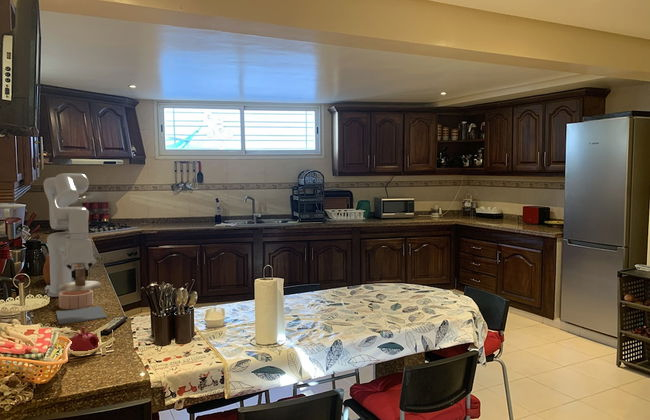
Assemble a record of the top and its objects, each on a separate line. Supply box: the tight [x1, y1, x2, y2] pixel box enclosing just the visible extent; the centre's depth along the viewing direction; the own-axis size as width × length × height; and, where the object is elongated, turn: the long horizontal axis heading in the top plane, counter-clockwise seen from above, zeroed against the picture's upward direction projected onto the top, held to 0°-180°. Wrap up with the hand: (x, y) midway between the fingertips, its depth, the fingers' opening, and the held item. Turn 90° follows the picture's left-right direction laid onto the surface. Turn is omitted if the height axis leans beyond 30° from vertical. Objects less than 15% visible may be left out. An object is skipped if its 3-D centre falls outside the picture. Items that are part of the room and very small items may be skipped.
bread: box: [42, 251, 79, 285], centre depth 282 cm, size 18×22×17 cm
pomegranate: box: [69, 326, 100, 351], centre depth 167 cm, size 10×10×9 cm
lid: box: [59, 266, 102, 291], centre depth 211 cm, size 16×16×8 cm
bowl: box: [58, 289, 94, 310], centre depth 229 cm, size 14×14×6 cm
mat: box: [55, 305, 108, 325], centre depth 213 cm, size 20×18×1 cm
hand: (80, 278), depth 211 cm, fingers closed on lid, 3 cm apart
